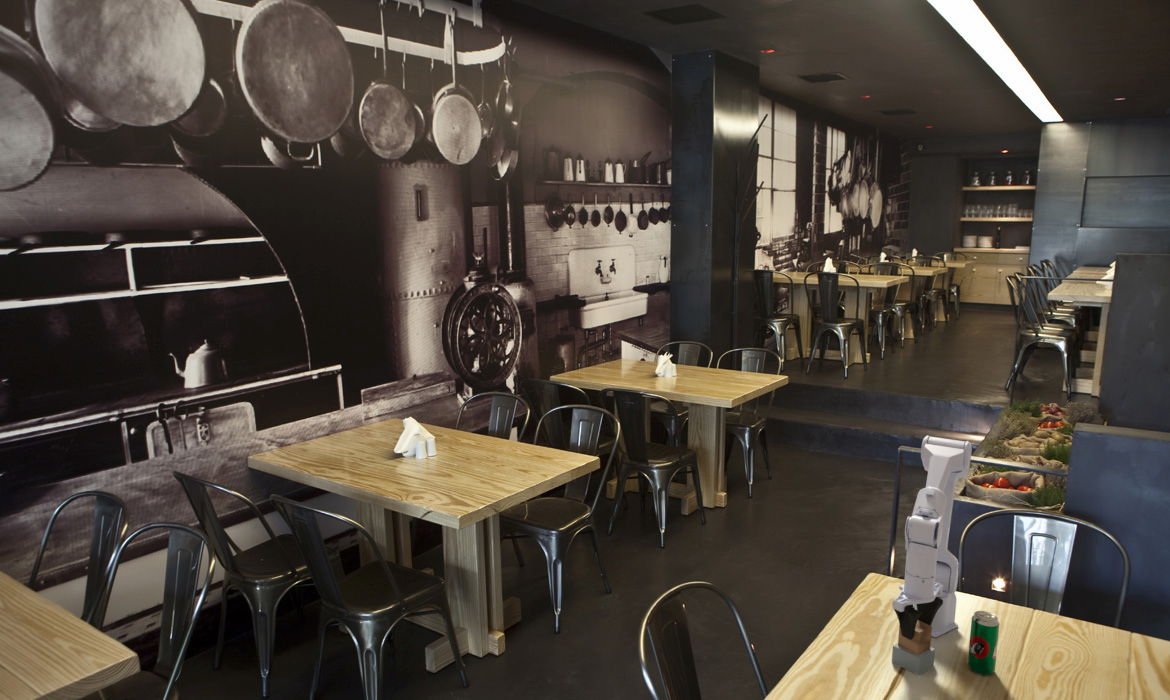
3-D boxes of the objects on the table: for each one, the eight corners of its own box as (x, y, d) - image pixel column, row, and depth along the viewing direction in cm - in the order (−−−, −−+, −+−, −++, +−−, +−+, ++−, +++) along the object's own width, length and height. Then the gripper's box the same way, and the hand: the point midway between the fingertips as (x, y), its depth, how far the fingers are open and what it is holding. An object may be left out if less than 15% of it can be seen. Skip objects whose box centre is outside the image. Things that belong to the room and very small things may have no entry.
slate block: (906, 653, 161) (908, 636, 160) (933, 666, 156) (935, 649, 156) (891, 663, 157) (892, 645, 157) (918, 676, 153) (920, 658, 152)
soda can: (998, 677, 152) (1003, 623, 150) (971, 674, 153) (976, 620, 151) (990, 663, 157) (995, 611, 155) (964, 661, 158) (969, 608, 156)
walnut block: (910, 638, 159) (912, 617, 159) (930, 648, 156) (932, 626, 155) (897, 645, 157) (899, 623, 156) (917, 655, 153) (919, 632, 152)
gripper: (922, 557, 161) (918, 615, 163) (881, 573, 153) (877, 634, 155) (954, 569, 155) (948, 629, 157) (912, 587, 147) (908, 650, 149)
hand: (915, 633), depth 156 cm, fingers open, 5 cm apart
